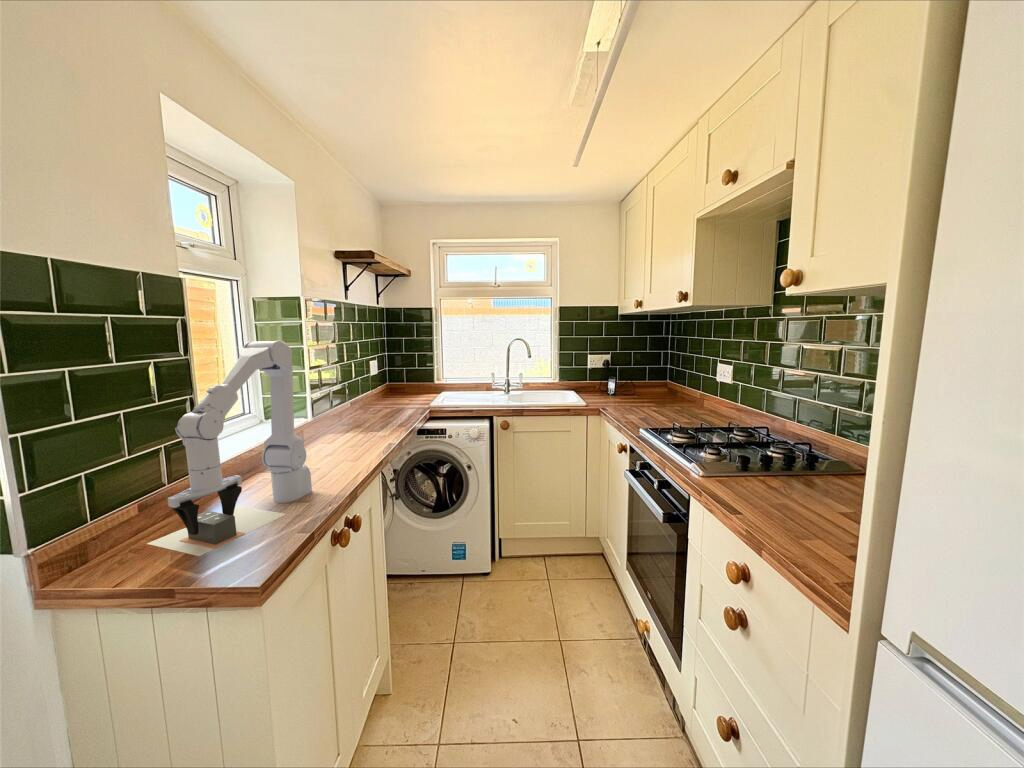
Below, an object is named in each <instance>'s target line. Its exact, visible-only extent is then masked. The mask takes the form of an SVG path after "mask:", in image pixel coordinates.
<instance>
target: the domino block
mask: <svg viewBox="0 0 1024 768" xmlns="http://www.w3.org/2000/svg"><path fill="white" fill-rule="evenodd" d="M222 513H223V512H217V511H211V510H206V511H203V512H201V513H198V528H199V532H198V534H197V535H191V534H189V533H188V538H189V539H193V540H197V541H202V542H206V543H210V544H214V545H217V544H219V543H221V542H223V541H225V540H227V539H229V538H232V537H234V536H236V535H237V533H236V524H235V516H232V515H227V514H222Z"/></svg>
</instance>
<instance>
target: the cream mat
mask: <svg viewBox="0 0 1024 768" xmlns="http://www.w3.org/2000/svg"><path fill="white" fill-rule="evenodd" d="M221 513H222V514H223V512H221ZM286 515H287V513H283V512H277V511H271V510H265V509H259V508H252V507H246V506H241V505H238V506H235V509H234V515H233V516H235V524H236V533H237V535H236V536H234V537H232V538H229V539H227V540H225V541H223V542H221V543H219V544H217V545H214V544H210V543H206V542H202V541H197V540H193V539H189V538H188V530H187V528H186V527H184V528H181V529H179V530H177V531H174V532H171V533H169V534H167V535H165V536H161V537H159V538H157V539H155V540H152V541H150V542H147V543H146V545H150V546H154V547H159V548H161V549H163V548H164V549H167V550H171V551H175V552H179V553H183V554H188V555H192V556H195V557H196V556H197V557H201V556H203V555H205V554H208V553H209V552H212V551H214V550H215V549H217V548H220V547H222V546H223V545H226V544H228V543H230V542H232V541H235V540H236V539H238V538H241V537H242V536H245V535H246V534H249V533H250V532H252V531H255V530H257V529H259V528H261V527H263V526H266V525H267V524H269V523H271V522H273V521H275V520H278V519H280V518H282V517H283V516H286Z"/></svg>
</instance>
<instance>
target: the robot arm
mask: <svg viewBox="0 0 1024 768" xmlns="http://www.w3.org/2000/svg"><path fill="white" fill-rule="evenodd" d="M292 351H293V349H292V348H290V346H289V345H288V344H287V343H286V342H285V341H284V340H281V339H279V340H274V341H272V340H270V341H269V340H268V341H267V340H266V341H264V340H262V341H261V340H260V341H254V340H249V341H247V342H246V343H244V345H243V347H242V348H241V349H240V350H239V351H238V353H239V358H238V359H237V360H236V362H235V363H234V365H233V367H232V368H231V370H230V371H229V373H227V376H226V377H225V379H224V380H223V381H222V383H221V384H215V385H212V386H210V387H208V388H207V390H206V392H207V393H206V394H205V395H204V396H203V397H202V399H200V401H199V403H197V404H196V405H195V406H194V407H193V409H192V411H191V412H188V413H185V414H184V415H182V417H180V418H179V420H178V422H177V425H176V427H175V428H174V430H175V433H176V435H177V436H178V437H179V438H180V439H181V441H182V445H183V446H184V447H185V452H186V453H185V454H186V455H185V456H186V460H187V461H186V463H187V470H188V477H189V486H190V487H189V488H187V489H185V490H183V491H181V492H179V493H177V494H175V495H172V496H170V497H167V507H168V508H171V509H172V510H173V511H174V512H175V514H177V515H178V517H179V518H180V519H181V521H182V522H183V524H184V526H185V528H187V530H188V533H189V534H191V535H197V534H198V532H199V528H198V514H199V509H200V505H199V504H196V503H194V502H193V501H196V500H197V499H200V498H203V497H206V496H209V495H212V494H215V493H217V495H218V497H219V501H220V505H221V509H222V512H221V513H223V514H227V515H232V516H233V515H234V509H235V507H236V505H237V503H238V499H239V496H240V494H241V493H242V491H243V490H242V489H243V488H242V486H241V485H242V484H243V479H242V475H240V474H239V475H237V474H235V475H231V476H228V477H224V478H223V474H222V466H221V459H220V457H221V456H220V449H219V448H220V447H219V440H218V439H219V436H220V434H221V433H223V429H224V425H225V424H224V422H225V420H226V416H227V414H229V412H230V410H232V408H233V406H234V405H235V404H236V402H238V400H239V395H238V391H239V390H240V389H241V387H243V385H244V384H246V382H247V381H248V380H249V379H250V378H251V377H252V375H253V374H254V373H255V372H256V371H257V370H260V371H262V372H264V373H265V374H266V375H267V376H268V377H269V382H270V383H269V384H270V385H269V387H270V421H271V424H270V426H271V435H270V436H269V437H268V438H267V439H265V441H264V443H263V449H262V450H263V451H262V454H261V462H262V464H263V465H264V466H265V467H266V468H267V471H269V472H270V476H271V477H270V479H271V487H272V488H271V489H272V498H273V499H272V500H273V502H274V503H277V504H283V503H284V504H285V503H290V502H294V501H297V500H300V499H301V498H303V497H304V496H306V495H308V494H310V493H312V492H313V488H312V477H311V476H312V474H311V471H310V468H309V467H308V466H307V465H306V464H305V462H306V460H307V451H306V448H305V443H304V439H303V438H301V437H300V436H299V435H298V434H296V433H295V417H294V413H295V411H294V408H295V407H294V377H293V376H294V375H293V373H294V372H293V370H294V369H293V352H292Z"/></svg>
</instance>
